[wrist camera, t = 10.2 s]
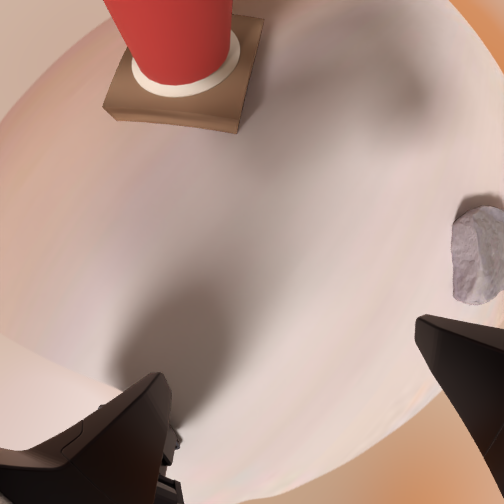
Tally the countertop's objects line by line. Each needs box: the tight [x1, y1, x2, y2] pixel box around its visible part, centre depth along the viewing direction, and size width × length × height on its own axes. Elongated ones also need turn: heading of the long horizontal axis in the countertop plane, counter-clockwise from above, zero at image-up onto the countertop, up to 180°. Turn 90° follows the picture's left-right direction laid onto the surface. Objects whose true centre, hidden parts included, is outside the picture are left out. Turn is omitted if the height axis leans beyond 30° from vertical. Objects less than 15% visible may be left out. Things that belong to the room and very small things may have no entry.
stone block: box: [451, 206, 504, 305], centre depth 22 cm, size 12×5×10 cm
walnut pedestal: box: [102, 14, 264, 134], centre depth 17 cm, size 10×10×3 cm
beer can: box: [103, 0, 233, 86], centre depth 9 cm, size 7×7×12 cm
